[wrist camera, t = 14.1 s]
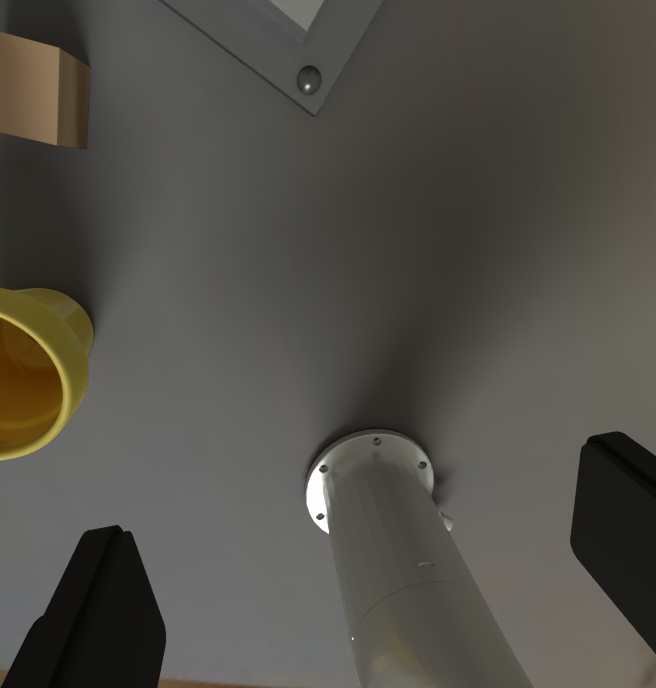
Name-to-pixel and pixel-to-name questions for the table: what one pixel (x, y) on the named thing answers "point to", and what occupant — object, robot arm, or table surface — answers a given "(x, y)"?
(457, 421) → the table surface
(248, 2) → the square metal socket
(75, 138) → the wooden cube
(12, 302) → the plant pot
